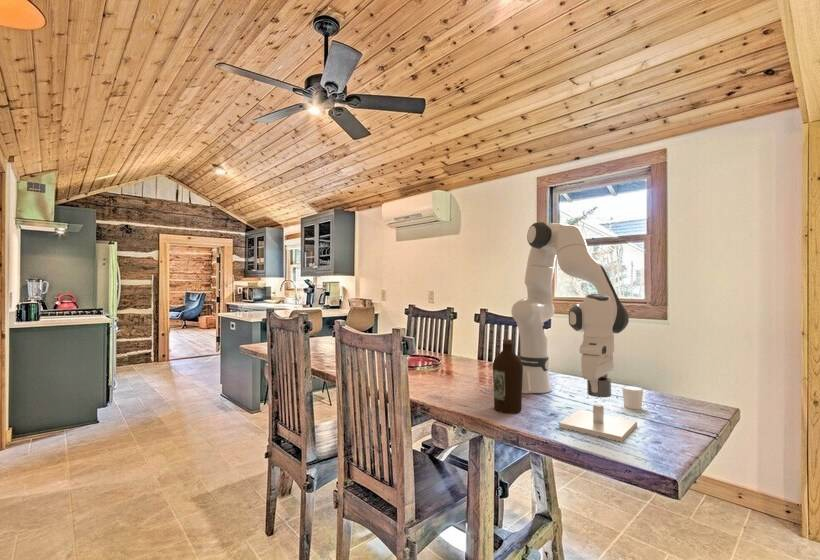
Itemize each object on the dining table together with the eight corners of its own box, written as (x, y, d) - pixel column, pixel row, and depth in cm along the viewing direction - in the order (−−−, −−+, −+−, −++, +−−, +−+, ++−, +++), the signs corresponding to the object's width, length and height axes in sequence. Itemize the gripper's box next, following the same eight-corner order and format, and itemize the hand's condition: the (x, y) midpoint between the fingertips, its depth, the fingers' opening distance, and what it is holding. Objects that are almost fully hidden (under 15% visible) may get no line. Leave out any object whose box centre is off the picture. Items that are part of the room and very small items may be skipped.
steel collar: (584, 394, 129) (584, 379, 129) (591, 390, 134) (591, 375, 134) (607, 398, 125) (607, 382, 125) (613, 394, 130) (613, 378, 130)
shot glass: (646, 410, 146) (646, 390, 146) (625, 409, 147) (625, 389, 147) (639, 404, 153) (639, 385, 153) (619, 403, 154) (619, 385, 154)
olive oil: (510, 403, 154) (510, 337, 154) (529, 412, 144) (529, 340, 144) (486, 407, 150) (486, 338, 150) (504, 415, 140) (504, 342, 140)
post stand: (559, 427, 129) (559, 406, 129) (579, 413, 142) (579, 395, 142) (621, 442, 117) (621, 419, 117) (637, 425, 130) (636, 405, 130)
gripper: (598, 341, 139) (598, 381, 139) (577, 348, 124) (577, 394, 124) (618, 342, 135) (618, 384, 135) (599, 350, 120) (600, 398, 120)
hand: (599, 389), depth 129 cm, fingers closed on steel collar, 7 cm apart
